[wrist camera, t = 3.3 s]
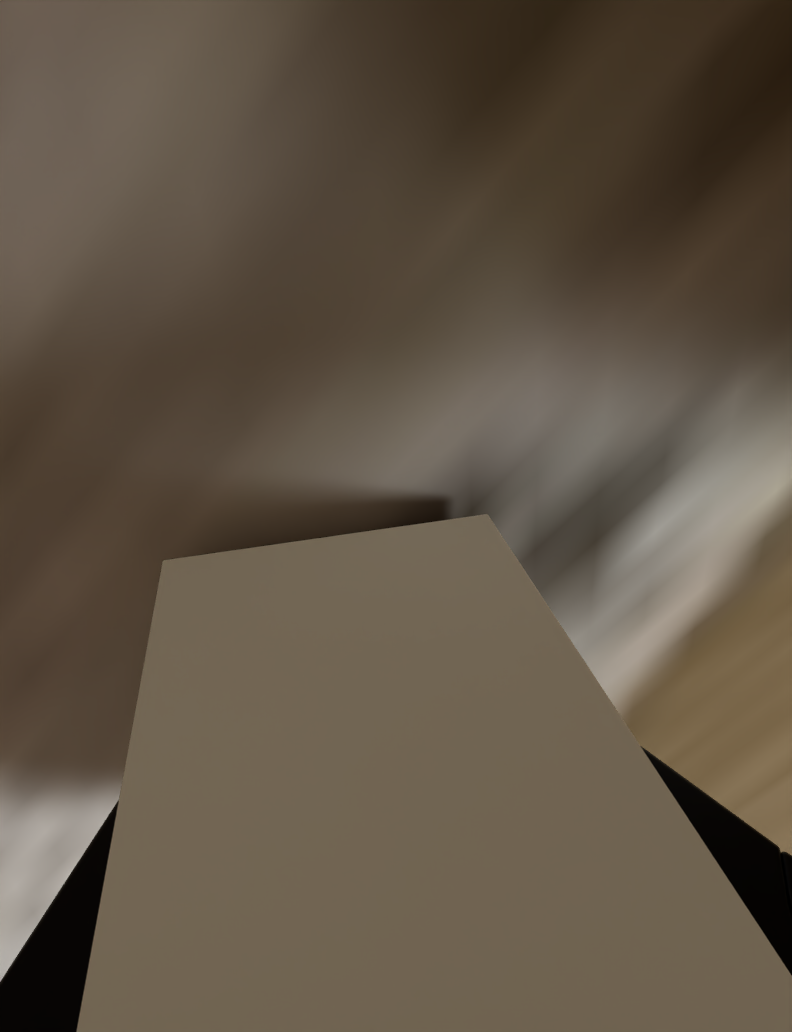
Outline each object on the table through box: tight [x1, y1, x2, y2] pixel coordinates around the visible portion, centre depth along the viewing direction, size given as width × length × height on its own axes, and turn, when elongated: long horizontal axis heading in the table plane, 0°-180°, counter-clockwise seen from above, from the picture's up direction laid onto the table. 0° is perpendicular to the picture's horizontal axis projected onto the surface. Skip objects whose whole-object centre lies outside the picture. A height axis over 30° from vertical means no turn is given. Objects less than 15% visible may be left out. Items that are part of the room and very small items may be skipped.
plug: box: [77, 514, 792, 1032], centre depth 7 cm, size 4×6×7 cm
